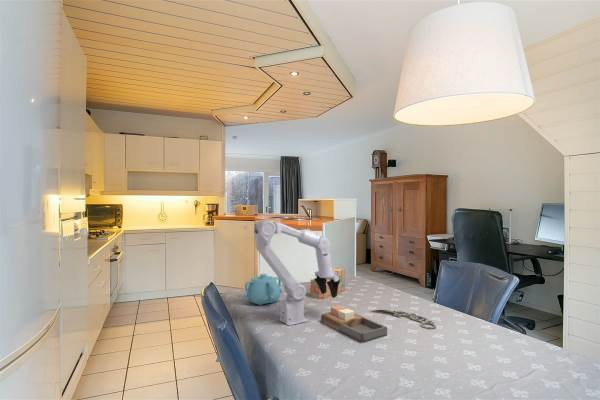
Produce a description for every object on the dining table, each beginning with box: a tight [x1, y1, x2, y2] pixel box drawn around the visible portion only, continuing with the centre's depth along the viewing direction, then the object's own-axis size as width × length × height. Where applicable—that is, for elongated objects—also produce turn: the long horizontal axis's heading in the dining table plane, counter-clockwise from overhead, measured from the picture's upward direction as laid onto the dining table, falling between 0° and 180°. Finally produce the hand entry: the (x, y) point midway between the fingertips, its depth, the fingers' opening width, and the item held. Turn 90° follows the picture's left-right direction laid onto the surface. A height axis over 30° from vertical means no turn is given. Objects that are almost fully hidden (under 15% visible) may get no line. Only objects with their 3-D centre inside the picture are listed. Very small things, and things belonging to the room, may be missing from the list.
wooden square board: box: [320, 311, 365, 332], centre depth 131 cm, size 12×12×3 cm
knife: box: [370, 309, 437, 330], centre depth 136 cm, size 28×2×10 cm
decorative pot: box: [243, 273, 283, 306], centre depth 162 cm, size 16×16×14 cm
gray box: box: [339, 317, 388, 344], centre depth 120 cm, size 12×12×3 cm
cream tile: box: [338, 308, 355, 320], centre depth 129 cm, size 4×4×3 cm
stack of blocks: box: [309, 267, 346, 300], centre depth 174 cm, size 21×6×12 cm, turn 136°
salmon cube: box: [330, 304, 347, 317], centre depth 133 cm, size 4×4×3 cm
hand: (329, 295), depth 140 cm, fingers open, 7 cm apart
